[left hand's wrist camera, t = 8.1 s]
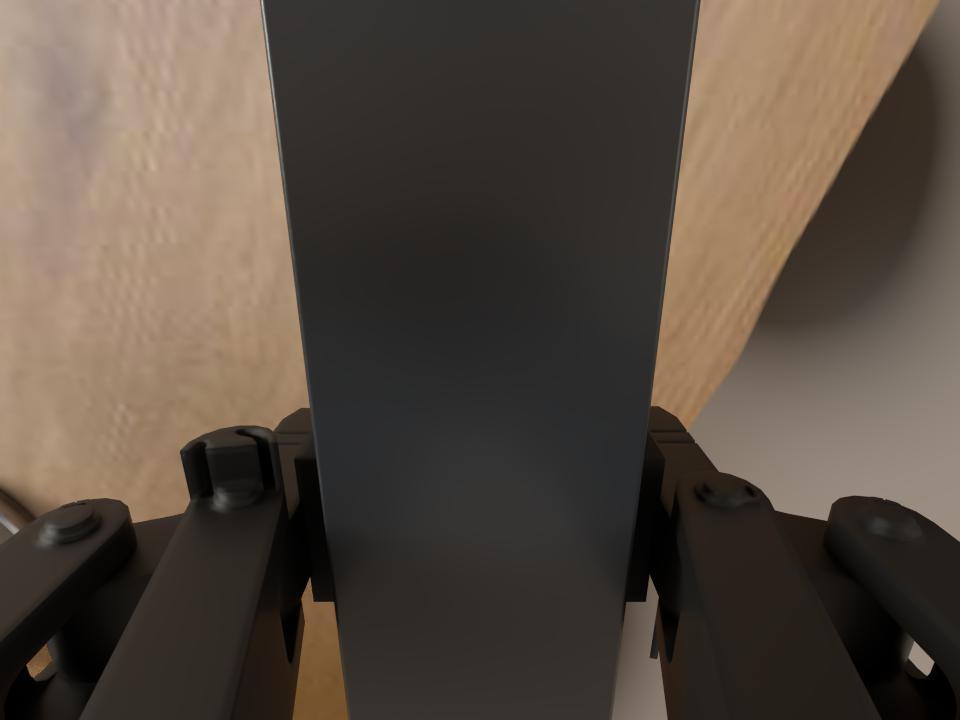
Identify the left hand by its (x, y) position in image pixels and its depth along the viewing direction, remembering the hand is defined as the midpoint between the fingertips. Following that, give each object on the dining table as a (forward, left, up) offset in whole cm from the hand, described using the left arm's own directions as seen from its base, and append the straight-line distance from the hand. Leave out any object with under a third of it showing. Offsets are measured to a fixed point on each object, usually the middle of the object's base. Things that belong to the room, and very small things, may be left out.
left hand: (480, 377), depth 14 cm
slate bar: (+8, +5, 0) cm, 10 cm away
